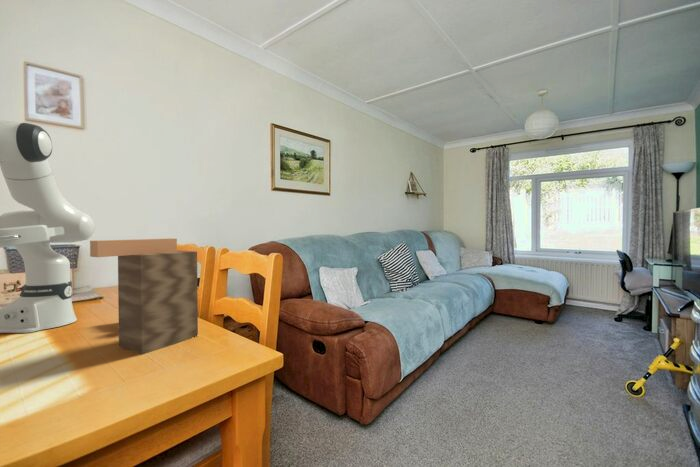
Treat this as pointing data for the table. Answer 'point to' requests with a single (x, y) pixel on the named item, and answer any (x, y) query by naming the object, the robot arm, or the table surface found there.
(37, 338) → the table surface
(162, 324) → the zigzag grain wooden block
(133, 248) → the rail
